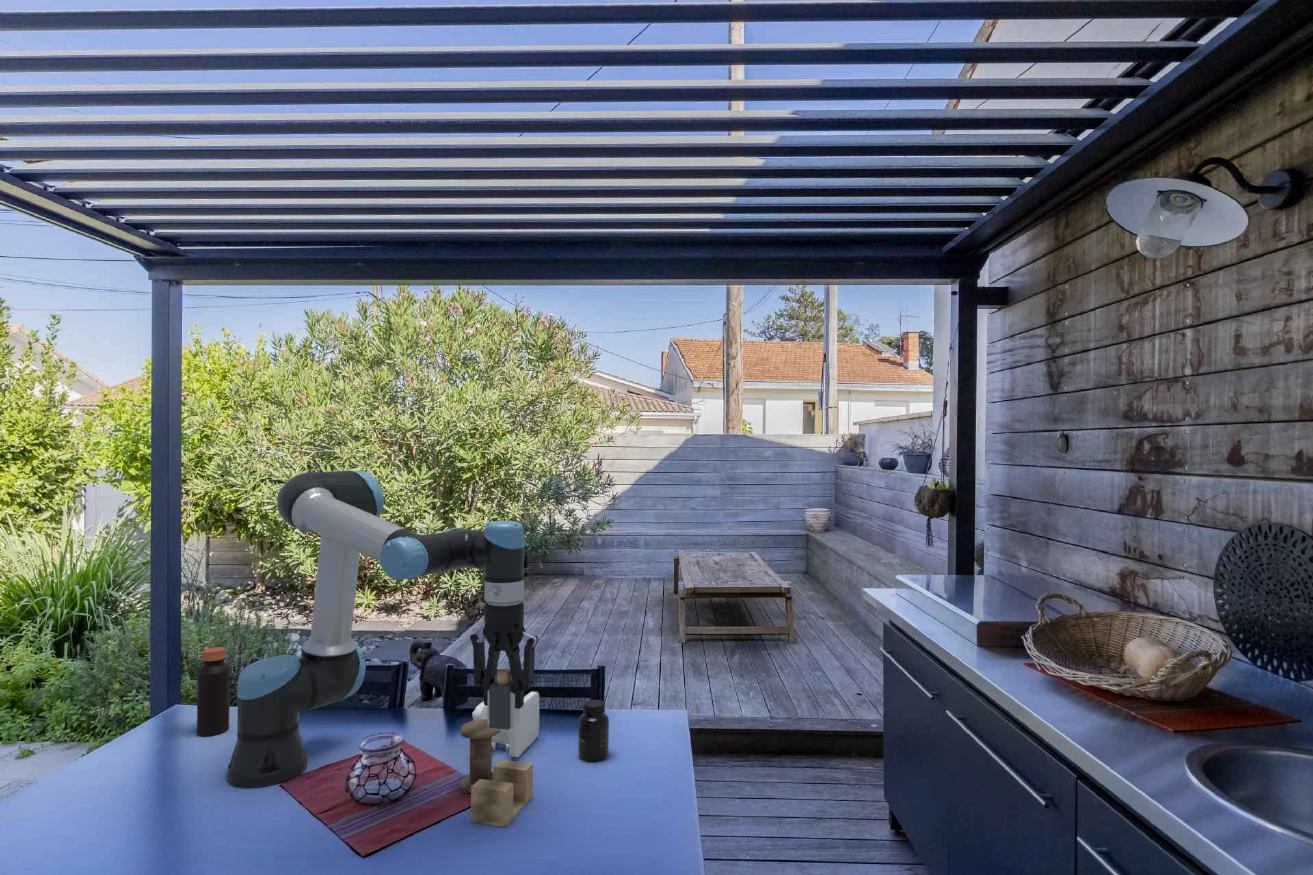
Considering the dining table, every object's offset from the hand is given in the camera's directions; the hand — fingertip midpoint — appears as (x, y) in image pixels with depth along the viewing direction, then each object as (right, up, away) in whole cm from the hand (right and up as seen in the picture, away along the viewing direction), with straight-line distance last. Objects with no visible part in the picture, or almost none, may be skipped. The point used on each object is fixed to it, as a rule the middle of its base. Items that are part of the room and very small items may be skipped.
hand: (503, 723), depth 139 cm
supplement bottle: (+15, -17, +24) cm, 33 cm away
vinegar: (-79, -17, +37) cm, 89 cm away
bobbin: (-7, -17, +10) cm, 20 cm away
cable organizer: (-5, -17, +28) cm, 33 cm away
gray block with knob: (0, 0, 0) cm, 0 cm away
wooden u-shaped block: (0, -16, 0) cm, 16 cm away
